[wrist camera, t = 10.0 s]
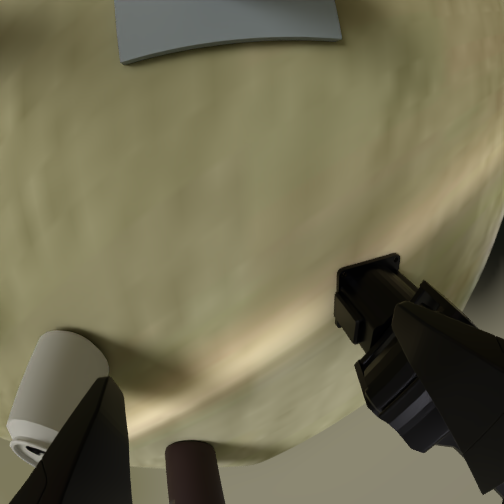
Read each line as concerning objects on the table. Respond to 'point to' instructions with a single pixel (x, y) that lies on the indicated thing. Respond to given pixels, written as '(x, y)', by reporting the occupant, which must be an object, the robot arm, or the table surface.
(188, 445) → the wine bottle
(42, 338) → the can
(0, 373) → the table surface
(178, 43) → the grey square plate
